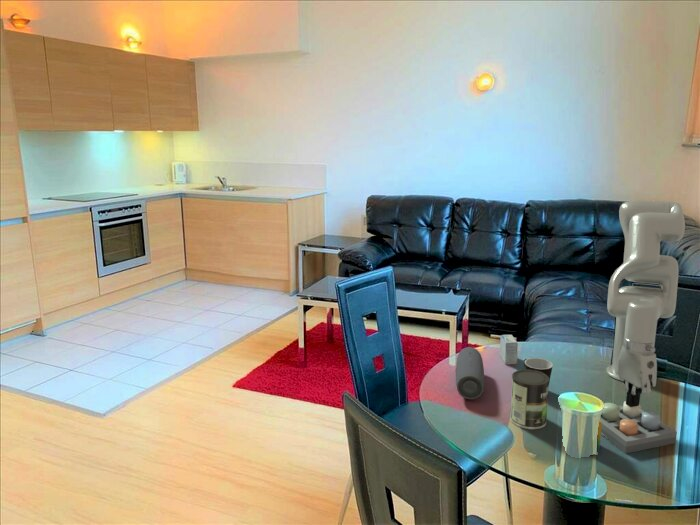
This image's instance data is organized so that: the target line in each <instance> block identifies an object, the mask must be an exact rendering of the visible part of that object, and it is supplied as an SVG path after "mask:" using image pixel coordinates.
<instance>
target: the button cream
mask: <svg viewBox="0 0 700 525" xmlns="http://www.w3.org/2000/svg"><path fill="white" fill-rule="evenodd" d="M622 405H623V415H625V416H626V417H629V418H639V417H640V410H641V409H642V406H641V404H640V403H639V406H635V407H629V406H628V405H626V400H625V401H623V404H622Z"/></svg>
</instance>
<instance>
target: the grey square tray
mask: <svg viewBox="0 0 700 525" xmlns="http://www.w3.org/2000/svg"><path fill="white" fill-rule="evenodd" d="M618 406H619V407H620V414H619V420H617V421H610V420H607V419H605V418H603V417H602V415H601V419H600V420H601V422H602V425H601V432H602V433H603V434H604V435H605V436H606V437H607V438H608V439H609V440H610V441H611V442H612V443H613V444H612V443H611V442H610V441H609V442H610V443H611V444H612V445H613V446H615V447H616V448H618V450H621V452H623V454H629V453H634V452H640V451H644V450H650V449H654V448H659V447H664V446H665V447H666V446H668V445H669V444H670V445H675V444H676V441H677V430H675V429H673V428H671V427H670V426H669V425H667V424H666V423H664V422H662V421H661V420H660V425H659V429H657V430H650V429H647V428H644V427H643V426H642V425H641V419H642V412H644V411H645V410H644V409H642V408H641V410H640V417H639V418H629V417H626V416H625V415H623V404H622V405H618ZM622 419H629V420H633V421H635V422H637V423H638V432H637V435H633V436H628V437H627V436H626V435H624V434H623V433H622V432H620V431H619V427H620V421H621V420H622Z"/></svg>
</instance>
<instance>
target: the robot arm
mask: <svg viewBox="0 0 700 525" xmlns="http://www.w3.org/2000/svg"><path fill="white" fill-rule="evenodd" d="M618 213H619V214H618V217H619V223H620V226H621V230H622V232H623V236H624V250H623V251H624V252H623V262H622V263H621V265H620V266H619V267H617V268H616V269H615V270H614V272H613V274H612V275H611V276H610V280H609V282H608V289H607V290H608V291H607V304H606V305H607V306H606V307H607V312H608V313H609V315H610V316H612V317H614V318H616V319H615V330H614V333H615V334H614V340H613V341H614V342H613V352H612V362H611V364H610V365H609V366H606V374H607V375H608V376H610V377H611V378H613V379H614V380H615V379H616V380H618V381H620V382H623V384H624V390H625V391H626V397H625V401H626V405H628V406H629V407H635V406H639V404H640V400H641V395H642V394H646V395H648V394H649V395H650V394H651V393H652V390H651V388H654V387H656V384H657V378H658V377H657V375H658V372H657V371H658V364H657V361H658V360H657V354H656V353H655V352H656V348H655V345H656V344H655V343H656V333H657V326H658V320H659V319H660V318H661V319H669V318H671V317H673V316H674V314H675V311H676V307H677V295H678V294H677V293H678V284H679V271H680V270H679V268H680V267H679V263H678V261H677V259H676V258H675V257H674V256H671V255H665V254H661V242H679V241H680V242H681V240H682V239H683V238H684V235H685V229H686V221H685V215H684V212H683V207H682V205H681V204H680V203H679V202H675V201H661V200H660V201H658V200H655V201H654V200H630V201H626V202H623V203H622V204H621V205H620V206H619V210H618ZM624 279H625V280H626V281H628V282H634V283H640V284H641V283H642V284H653V285H659V286H660V288H659V287H658V288H656V287H648V286H636V285H628V286H627V285H626V286H622V287H620V284H621V282H622V281H623V280H624ZM619 287H620V288H619Z"/></svg>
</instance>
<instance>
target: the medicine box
mask: <svg viewBox="0 0 700 525" xmlns="http://www.w3.org/2000/svg"><path fill="white" fill-rule="evenodd" d="M499 342H500V343H499V347H500V348H499V356H500V358H501V360H502V361H503V363H504V364H505V365H506V366H507V365H508V366H509V365H518V352H519V351H518V348H519V347H518V346H519V345H518V344H519V343H518V341H517V340H516V339H515V337H514V336H513V334H501V335H500V340H499Z"/></svg>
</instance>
